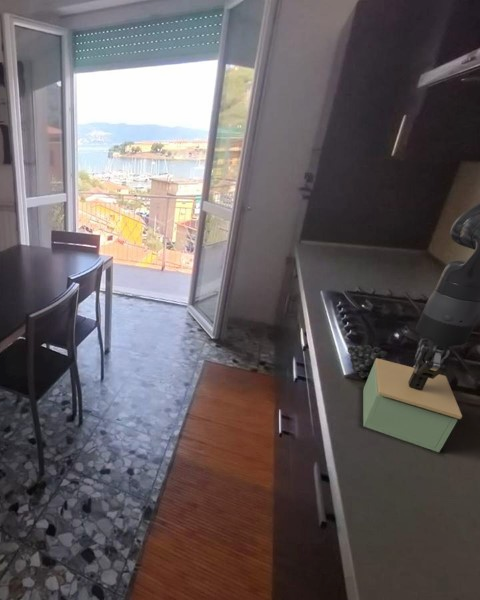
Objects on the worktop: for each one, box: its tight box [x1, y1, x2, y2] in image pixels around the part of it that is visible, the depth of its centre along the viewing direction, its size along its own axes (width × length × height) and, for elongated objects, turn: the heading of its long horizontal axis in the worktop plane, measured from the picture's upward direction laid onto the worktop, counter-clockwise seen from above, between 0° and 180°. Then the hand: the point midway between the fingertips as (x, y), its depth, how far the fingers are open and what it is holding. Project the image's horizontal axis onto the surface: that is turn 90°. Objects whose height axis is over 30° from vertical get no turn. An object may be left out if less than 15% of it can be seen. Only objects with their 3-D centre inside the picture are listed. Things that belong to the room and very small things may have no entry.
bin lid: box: [375, 358, 463, 420], centre depth 77 cm, size 16×13×1 cm
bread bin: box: [362, 362, 459, 453], centre depth 80 cm, size 16×13×9 cm
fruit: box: [347, 344, 392, 380], centre depth 97 cm, size 9×8×15 cm
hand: (414, 387), depth 76 cm, fingers closed
